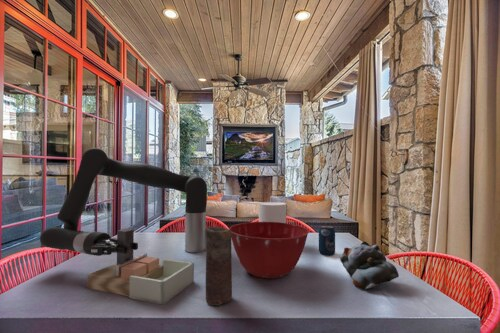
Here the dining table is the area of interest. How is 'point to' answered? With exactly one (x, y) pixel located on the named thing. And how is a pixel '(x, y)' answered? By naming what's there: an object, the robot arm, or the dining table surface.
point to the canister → (272, 212)
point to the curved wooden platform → (116, 280)
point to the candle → (218, 265)
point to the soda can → (326, 240)
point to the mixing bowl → (268, 247)
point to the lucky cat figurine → (367, 266)
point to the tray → (163, 282)
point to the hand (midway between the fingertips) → (132, 248)
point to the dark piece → (127, 239)
